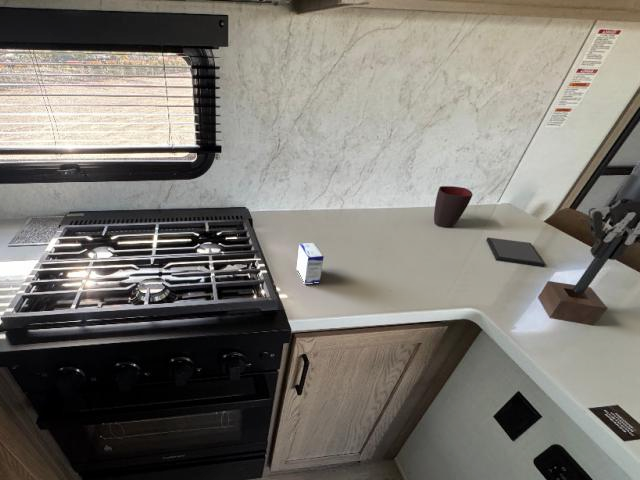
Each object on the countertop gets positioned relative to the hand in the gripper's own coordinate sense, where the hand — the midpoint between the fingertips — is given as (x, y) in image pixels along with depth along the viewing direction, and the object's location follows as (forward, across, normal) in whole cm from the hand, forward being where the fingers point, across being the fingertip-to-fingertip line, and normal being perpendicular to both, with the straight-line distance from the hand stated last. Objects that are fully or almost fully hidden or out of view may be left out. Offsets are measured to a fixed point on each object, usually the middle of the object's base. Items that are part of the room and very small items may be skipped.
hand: (602, 256), depth 74 cm
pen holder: (+15, 0, 0) cm, 15 cm away
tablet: (+15, -4, +29) cm, 33 cm away
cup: (+15, -22, +47) cm, 54 cm away
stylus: (+9, 0, 0) cm, 9 cm away
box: (+15, -61, -5) cm, 63 cm away
